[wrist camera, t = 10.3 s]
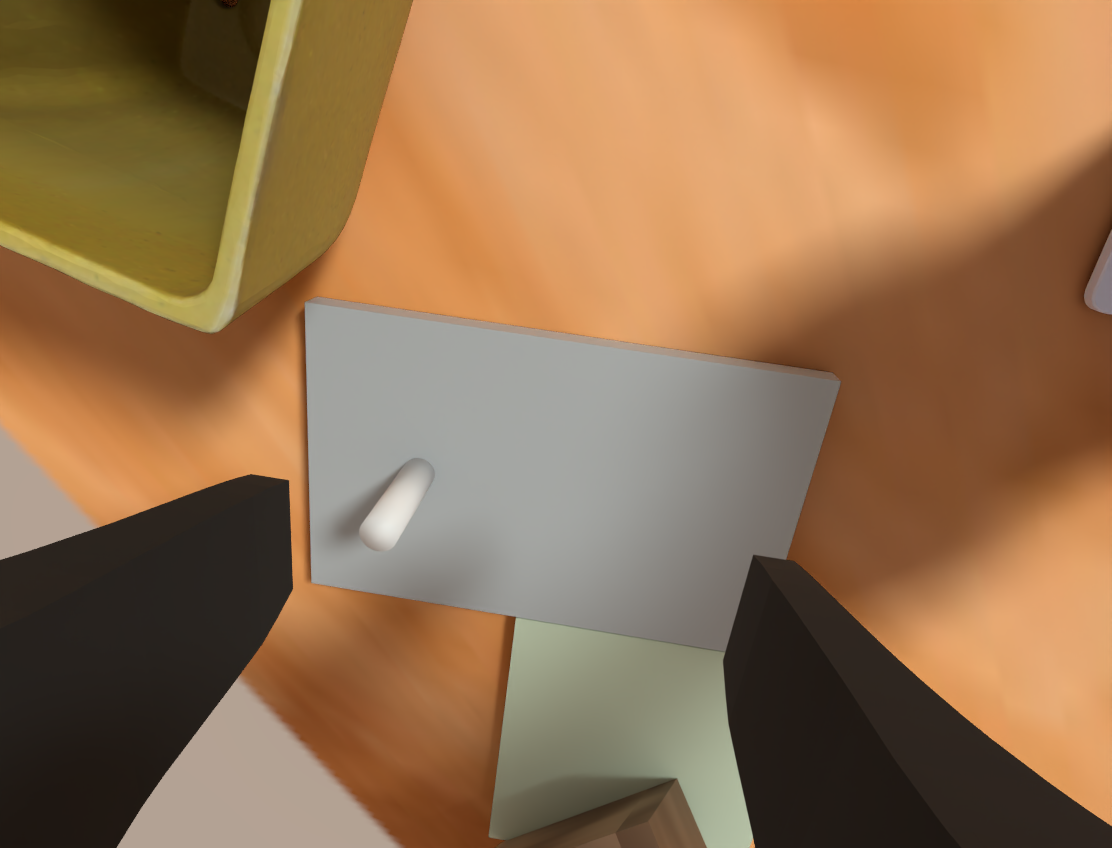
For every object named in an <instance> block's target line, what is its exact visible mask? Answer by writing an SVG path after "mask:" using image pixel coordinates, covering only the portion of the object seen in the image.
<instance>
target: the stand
mask: <svg viewBox="0 0 1112 848" xmlns="http://www.w3.org/2000/svg"><path fill="white" fill-rule="evenodd" d="M305 334H306V376H307V418H308V460H309V502H310V543H311V583H315V584H321V585H327V586H333V587H339V588H345V589H351V590H357V591H363V592H369V593H375V594H381V595H387V596H393V597H399V598H405V599H411V600H417V601H423V602H429V603H435V604H441V605H447V606H453V607H459V608H465V609H471V610H477V611H483V612H489V613H495V614H502V615H508V616H514V617H520V618H526V619H532V620H538V621H544V622H550V623H556V624H562V625H568V626H574V627H580V628H586V629H592V630H598V631H604V632H610V633H616V634H622V635H628V636H634V637H640V638H646V639H652V640H658V641H664V642H670V643H676V644H682V645H688V646H694V647H700V648H706V649H712V650H718V651H724V652H725V651H726V648H727V644H728V641H729V637H730V634H731V630H732V627H733V623H734V620H735V616H736V613H737V609H738V606H739V602H740V599H741V595H742V592H743V588H744V585H745V581H746V578H747V574H748V571H749V567H750V564H751V560H752V557H753V555H759V556H766V557H772V558H778V559H784V560H786V558H787V555H788V552H789V549H790V545H791V542H792V539H793V536H794V532H795V529H796V526H797V523H798V520H799V516H800V513H801V510H802V507H803V503H804V500H805V497H806V494H807V491H808V487H809V484H810V481H811V478H812V474H813V471H814V468H815V465H816V462H817V458H818V455H819V452H820V449H821V445H822V442H823V439H824V436H825V433H826V429H827V426H828V423H829V420H830V416H831V413H832V410H833V407H834V404H835V400H836V397H837V394H838V391H839V387H840V384H841V381H840V380H839V379H838V378H837V377H836V376H835V375H834V373H832V372H825V371H818V370H812V369H805V368H798V367H791V366H784V365H778V364H771V363H764V362H757V361H750V360H744V359H737V358H730V357H723V356H716V355H710V354H703V353H696V352H689V351H682V350H676V349H669V348H662V347H655V346H649V345H642V344H635V343H628V342H621V341H615V340H608V339H601V338H594V337H587V336H581V335H574V334H567V333H560V332H553V331H547V330H540V329H533V328H526V327H519V326H513V325H506V324H499V323H492V322H486V321H479V320H472V319H465V318H458V317H452V316H445V315H438V314H431V313H424V312H418V311H411V310H404V309H397V308H390V307H384V306H377V305H370V304H363V303H356V302H350V301H343V300H336V299H329V298H322V297H315V298H313V299H311V300H308V301H306V302H305Z"/></svg>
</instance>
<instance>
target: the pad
mask: <svg viewBox="0 0 1112 848" xmlns="http://www.w3.org/2000/svg"><path fill="white" fill-rule="evenodd" d="M724 655H725V652H724V651H718V650H712V649H706V648H700V647H694V646H688V645H682V644H676V643H670V642H664V641H658V640H652V639H646V638H640V637H634V636H628V635H622V634H616V633H610V632H604V631H598V630H592V629H586V628H580V627H574V626H568V625H562V624H556V623H550V622H544V621H538V620H532V619H526V618H520V617H516V621H515V629H514V637H513V645H512V653H511V661H510V669H509V677H508V685H507V693H506V701H505V709H504V717H503V725H502V733H501V741H500V749H499V757H498V765H497V773H496V781H495V789H494V797H493V805H492V813H491V821H490V829H489V837H490V838H495V839H501V840H506V841H507V840H510V839H512V838H515V837H518V836H520V835H523V834H526V833H529V832H531V831H534V830H537V829H540V828H542V827H545V826H548V825H551V824H553V823H556V822H559V821H561V820H564V819H567V818H570V817H572V816H575V815H578V814H581V813H583V812H586V811H589V810H592V809H594V808H597V807H600V806H603V805H605V804H608V803H611V802H613V801H616V800H619V799H622V798H624V797H627V796H630V795H633V794H635V793H638V792H641V791H644V790H646V789H649V788H652V787H654V786H657V785H660V784H663V783H665V782H668V781H671V780H674V779H676V778H677V779H678V782H679V784H680V786H681V789H682V791H683V793H684V796H685V798H686V800H687V802H688V805H689V807H690V809H691V812H692V814H693V816H694V819H695V821H696V823H697V826H698V828H699V830H700V833H701V835H702V837H703V840H704V842H705V844H706V847H707V848H750V845H751V842H752V839H753V835H752V830H751V826H750V821H749V817H748V812H747V808H746V803H745V799H744V794H743V790H742V786H741V781H740V776H739V772H738V767H737V763H736V758H735V753H734V749H733V744H732V739H731V734H730V729H729V725H728V715H727V705H726V695H725V682H724V669H723V658H724Z"/></svg>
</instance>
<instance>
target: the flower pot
mask: <svg viewBox="0 0 1112 848" xmlns="http://www.w3.org/2000/svg"><path fill="white" fill-rule="evenodd" d="M412 2H413V0H238V2H237V4H236V5H235V6H233V7H227V6H225V5H224V4H223V2H222V1H221V0H0V246H2V247H4V248H7V249H9V250H11V251H13V252H16V253H18V254H21V255H23V256H25V257H28V258H30V259H32V260H35V261H37V262H39V263H42V264H44V265H46V266H49V267H51V268H53V269H55V270H58V271H60V272H62V273H64V274H66V275H68V276H70V277H72V278H74V279H76V280H78V281H80V282H82V283H84V284H86V285H89V286H91V287H93V288H96V289H98V290H100V291H103V292H105V293H108V294H110V295H113V296H115V297H117V298H120V299H122V300H124V301H126V302H129V303H131V304H133V305H135V306H137V307H139V308H141V309H144V310H146V311H149V312H151V313H153V314H156V315H158V316H160V317H163V318H165V319H167V320H170V321H173V322H176V323H179V324H181V325H184V326H187V327H190V328H193V329H195V330H198V331H201V332H205V333H209V334H213V333H216V332H219V331H220V330H222V329H223V328H225V327H226V326H227V325H229V324H230V323H231V322H232V321H234V320H235V319H236V318H238V317H239V316H241V315H242V314H243V313H245V312H246V311H247V310H249V309H250V308H252V307H253V306H254V305H256V304H257V303H258V302H260V301H261V300H262V299H264V298H265V297H267V296H268V295H269V294H271V293H272V292H274V291H275V290H276V289H278V288H279V287H281V286H282V285H283V284H285V283H286V282H288V281H289V280H290V279H292V278H293V277H294V276H295V275H297V274H298V273H299V272H301V271H302V270H303V269H304V268H306V267H307V266H308V265H310V264H311V263H312V262H314V261H315V260H316V259H317V258H319V257H320V256H321V255H322V254H323V253H324V252H325V251H326V250H327V249H328V248H329V247H330V246H331V245H332V244H333V243H334V241H335V240H336V239H337V237H338V236H339V234H340V233H341V231H342V229H343V228H344V226H345V224H346V222H347V220H348V218H349V215H350V213H351V210H352V208H353V205H354V202H355V199H356V196H357V193H358V189H359V186H360V182H361V178H362V175H363V171H364V168H365V164H366V160H367V157H368V153H369V149H370V146H371V142H372V138H373V135H374V131H375V128H376V125H377V121H378V118H379V114H380V111H381V107H382V104H383V100H384V97H385V94H386V90H387V87H388V84H389V80H390V77H391V73H392V70H393V67H394V63H395V60H396V56H397V53H398V50H399V46H400V43H401V40H402V36H403V33H404V29H405V26H406V23H407V19H408V16H409V13H410V9H411V6H412Z"/></svg>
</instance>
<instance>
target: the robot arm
mask: <svg viewBox="0 0 1112 848" xmlns="http://www.w3.org/2000/svg"><path fill="white" fill-rule="evenodd" d="M1084 300H1085V304H1086V305H1087V306H1088V307H1089V308H1090V309H1093V310H1095V311H1098V312H1101V313H1105V314H1112V230H1111V232H1110V234H1109V237H1108V239H1107V241H1106V243H1105V246H1104V248H1103V250H1102V253H1101V255H1100V257H1099V259H1098V262H1097V264H1096V266H1095V269H1094V271H1093V273H1092V275H1091V278H1090V280H1089V282H1088V285H1087V287H1086V289H1085V294H1084ZM292 590H293V578H292V551H291V525H290V498H289V480H284V479H277V478H271V477H265V476H258V475H252V474H250V475H247V476H243V477H239V478H235V479H232V480H229V481H226V482H223V483H220V484H217V485H214V486H211V487H208V488H205V489H203V490H200V491H197V492H194V493H192V494H189V495H186V496H184V497H181V498H178V499H176V500H173V501H170V502H168V503H165V504H162V505H159V506H157V507H154V508H151V509H149V510H146V511H143V512H141V513H138V514H135V515H132V516H130V517H127V518H124V519H122V520H119V521H116V522H113V523H111V524H108V525H105V526H102V527H99V528H96V529H93V530H90V531H87V532H84V533H82V534H78V535H75V536H72V537H69V538H66V539H64V540H61V541H58V542H55V543H52V544H49V545H46V546H43V547H40V548H37V549H34V550H31V551H28V552H25V553H22V554H19V555H15V556H12V557H9V558H5V559H2V560H0V848H117V846H118V844H119V843H120V841H121V839H122V838H123V836H124V835H125V833H126V831H127V830H128V828H129V827H130V825H131V823H132V822H133V820H134V819H135V817H136V815H137V814H138V812H139V811H140V809H141V807H142V806H143V804H144V803H145V802H146V800H147V799H148V797H149V796H150V794H151V793H152V792H153V790H154V789H155V787H156V786H157V785H158V783H159V782H160V780H161V779H162V777H163V776H164V775H165V773H166V772H167V771H168V769H169V768H170V766H171V765H172V764H173V763H174V761H175V760H176V759H177V757H178V756H179V754H180V753H181V752H182V751H183V749H184V748H185V747H186V745H187V744H188V743H189V741H190V740H191V739H192V737H193V736H194V735H195V734H196V732H197V731H198V730H199V728H200V727H201V725H202V724H203V723H204V722H205V720H206V719H207V718H208V716H209V715H210V714H211V712H212V711H213V710H214V708H215V707H216V706H217V704H218V703H219V702H220V700H221V699H222V698H223V697H224V695H225V694H226V693H227V691H228V690H229V689H230V687H231V686H232V684H233V683H234V682H235V680H236V679H237V678H238V676H239V675H240V674H241V672H242V671H243V670H244V668H245V667H246V666H247V664H248V663H249V662H250V660H251V659H252V658H253V656H254V655H255V653H256V652H257V651H258V649H259V648H260V646H261V645H262V644H263V642H264V640H265V638H266V637H267V635H268V633H269V631H270V630H271V628H272V626H273V625H274V623H275V621H276V619H277V618H278V616H279V614H280V612H281V610H282V608H283V606H284V605H285V603H286V601H287V599H288V597H289V595H290V593H291V592H292ZM723 669H724V682H725V695H726V705H727V715H728V725H729V729H730V734H731V739H732V744H733V749H734V753H735V758H736V763H737V767H738V772H739V776H740V781H741V786H742V790H743V794H744V799H745V803H746V808H747V812H748V817H749V821H750V826H751V830H752V835H753V839H754V844H755V848H1112V826H1110V825H1109V824H1107V823H1106V822H1104V821H1103V820H1102V819H1100V818H1099V817H1097V816H1096V815H1094V814H1093V813H1091V812H1090V811H1088V810H1087V809H1085V808H1084V807H1082V806H1081V805H1080V804H1078V803H1077V802H1075V801H1074V800H1073V799H1071V798H1070V797H1068V796H1067V795H1066V794H1064V793H1063V792H1061V791H1060V790H1058V789H1057V788H1056V787H1054V786H1053V785H1051V784H1050V783H1049V782H1047V781H1046V780H1045V779H1043V778H1042V777H1041V776H1039V775H1038V774H1037V773H1035V772H1034V771H1033V770H1032V769H1030V768H1029V767H1028V766H1026V765H1025V764H1024V763H1022V762H1021V761H1020V760H1018V759H1017V758H1016V757H1014V756H1013V755H1012V754H1010V753H1009V752H1008V751H1006V750H1005V749H1004V748H1003V747H1001V746H1000V745H999V744H997V743H996V742H995V741H993V740H992V739H991V738H989V737H988V736H987V735H986V734H984V733H983V732H982V731H981V730H979V729H978V728H977V727H976V726H975V725H973V724H972V723H971V722H970V721H968V720H967V719H966V718H965V717H963V716H962V715H961V714H960V713H959V712H958V711H956V710H955V709H954V708H953V707H952V706H951V705H949V704H948V703H947V702H946V701H945V700H944V699H942V698H941V697H940V696H939V695H938V694H937V693H935V692H934V691H933V690H932V689H931V688H930V687H928V686H927V685H926V684H925V683H924V682H923V681H922V680H920V679H919V678H918V677H917V676H916V675H915V674H914V673H913V672H912V671H910V670H909V669H908V668H907V667H906V666H905V665H904V664H903V663H902V662H900V661H899V660H898V659H897V658H896V657H895V656H894V655H893V654H892V653H891V652H890V651H889V650H887V649H886V648H885V647H884V646H883V645H882V644H881V643H880V642H879V641H878V640H877V639H876V638H875V637H874V636H873V635H872V634H871V633H870V632H868V631H867V630H866V629H865V628H864V627H863V626H862V625H861V624H860V623H859V622H858V621H857V620H856V619H855V618H854V617H853V616H852V615H851V614H850V613H849V612H848V611H847V610H846V609H845V608H844V607H843V606H842V605H841V604H840V603H839V602H838V601H837V600H836V599H835V598H833V597H832V596H831V595H830V594H829V593H828V592H827V591H826V590H825V589H824V588H823V587H822V586H821V585H820V584H819V583H818V582H817V581H816V580H815V579H814V578H813V577H812V576H811V575H810V574H808V573H807V572H806V571H805V570H804V569H803V568H802V567H801V566H799V565H798V564H797V563H796V562H795V561H791V560H784V559H778V558H772V557H766V556H759V555H753V557H752V560H751V564H750V567H749V571H748V574H747V578H746V581H745V585H744V588H743V592H742V595H741V599H740V602H739V606H738V609H737V613H736V616H735V620H734V623H733V627H732V630H731V634H730V637H729V641H728V644H727V648H726V651H725V655H724V658H723Z"/></svg>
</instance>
